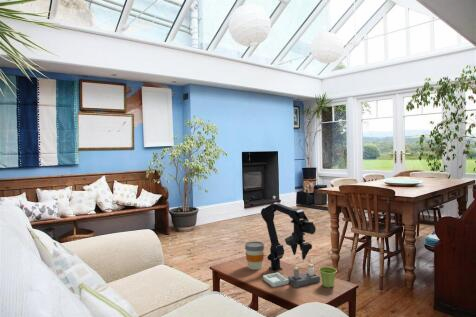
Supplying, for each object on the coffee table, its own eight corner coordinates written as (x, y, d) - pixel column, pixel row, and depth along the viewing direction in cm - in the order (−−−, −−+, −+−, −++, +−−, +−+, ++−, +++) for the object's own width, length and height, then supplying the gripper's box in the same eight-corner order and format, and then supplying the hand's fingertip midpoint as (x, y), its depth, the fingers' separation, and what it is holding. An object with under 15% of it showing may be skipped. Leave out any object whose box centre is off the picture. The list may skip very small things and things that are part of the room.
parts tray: (263, 279, 182) (262, 275, 182) (277, 276, 186) (277, 272, 186) (273, 287, 171) (273, 283, 171) (288, 283, 175) (288, 279, 175)
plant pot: (338, 283, 173) (338, 268, 173) (334, 290, 165) (334, 274, 165) (322, 280, 178) (321, 265, 178) (317, 287, 170) (317, 271, 170)
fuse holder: (288, 281, 178) (288, 276, 178) (311, 276, 184) (311, 271, 184) (296, 287, 170) (296, 281, 170) (319, 281, 177) (319, 276, 177)
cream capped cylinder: (292, 283, 176) (292, 267, 176) (297, 281, 177) (296, 266, 177) (295, 285, 173) (295, 269, 173) (300, 284, 174) (300, 268, 174)
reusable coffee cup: (243, 265, 207) (242, 242, 207) (260, 262, 211) (259, 240, 210) (249, 271, 195) (248, 248, 195) (267, 268, 199) (267, 245, 198)
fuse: (307, 279, 180) (306, 264, 180) (311, 278, 181) (311, 263, 181) (310, 281, 177) (310, 266, 177) (315, 280, 178) (314, 265, 178)
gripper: (278, 229, 189) (278, 254, 189) (295, 236, 172) (296, 264, 172) (293, 227, 193) (294, 251, 194) (312, 234, 176) (312, 261, 177)
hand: (298, 257), depth 184 cm, fingers open, 9 cm apart
